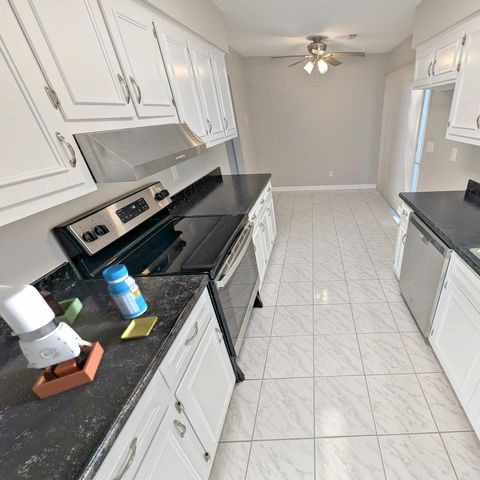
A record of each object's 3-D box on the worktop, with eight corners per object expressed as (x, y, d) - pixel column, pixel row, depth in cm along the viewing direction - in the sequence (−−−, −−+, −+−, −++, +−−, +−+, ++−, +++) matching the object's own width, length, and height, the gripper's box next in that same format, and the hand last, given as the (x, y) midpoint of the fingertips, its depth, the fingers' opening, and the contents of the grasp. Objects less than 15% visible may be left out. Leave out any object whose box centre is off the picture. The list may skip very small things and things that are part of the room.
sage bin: (31, 336, 91) (24, 327, 88) (47, 315, 100) (40, 307, 98) (71, 325, 95) (65, 316, 92) (82, 306, 104) (77, 297, 102)
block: (62, 381, 73) (53, 371, 71) (68, 368, 77) (60, 359, 75) (81, 375, 75) (73, 365, 73) (86, 362, 78) (79, 353, 76)
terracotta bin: (41, 399, 69) (31, 389, 67) (59, 365, 79) (51, 355, 77) (92, 381, 73) (84, 371, 71) (104, 351, 83) (97, 341, 81)
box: (69, 317, 98) (52, 292, 92) (54, 325, 94) (36, 300, 89) (61, 313, 100) (43, 289, 94) (46, 321, 96) (28, 296, 91)
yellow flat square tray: (159, 320, 94) (157, 315, 93) (149, 338, 86) (146, 334, 85) (135, 323, 93) (132, 319, 92) (122, 342, 86) (119, 338, 85)
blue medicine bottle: (127, 322, 94) (102, 279, 85) (119, 313, 98) (95, 271, 89) (151, 309, 100) (131, 267, 90) (143, 301, 104) (122, 260, 95)
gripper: (-13, 351, 61) (31, 395, 70) (73, 326, 67) (105, 370, 76) (6, 329, 68) (44, 373, 76) (83, 308, 73) (111, 351, 82)
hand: (74, 371), depth 76 cm, fingers open, 5 cm apart
